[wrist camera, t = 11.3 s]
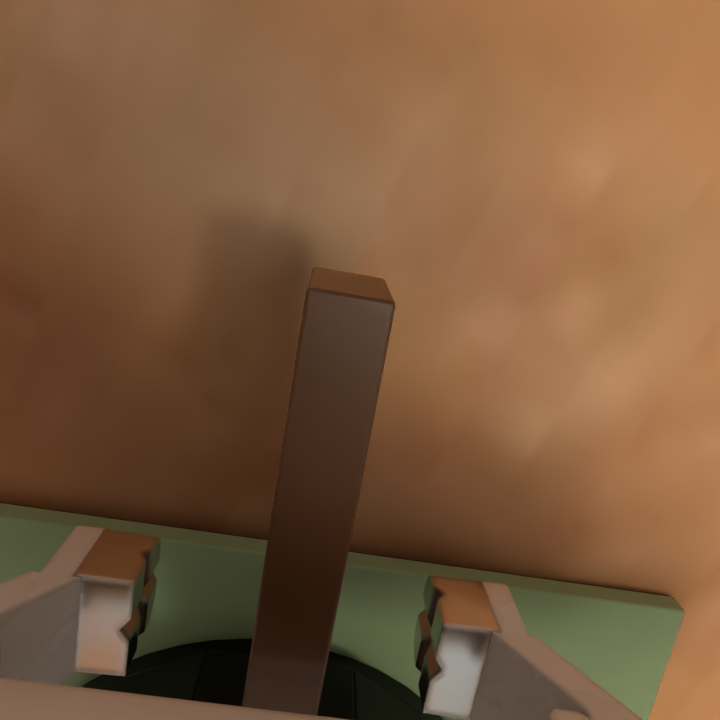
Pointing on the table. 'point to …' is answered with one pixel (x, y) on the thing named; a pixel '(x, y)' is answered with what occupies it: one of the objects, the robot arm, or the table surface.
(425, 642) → the robot arm
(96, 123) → the table surface
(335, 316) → the pan
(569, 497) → the table surface
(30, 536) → the trivet
